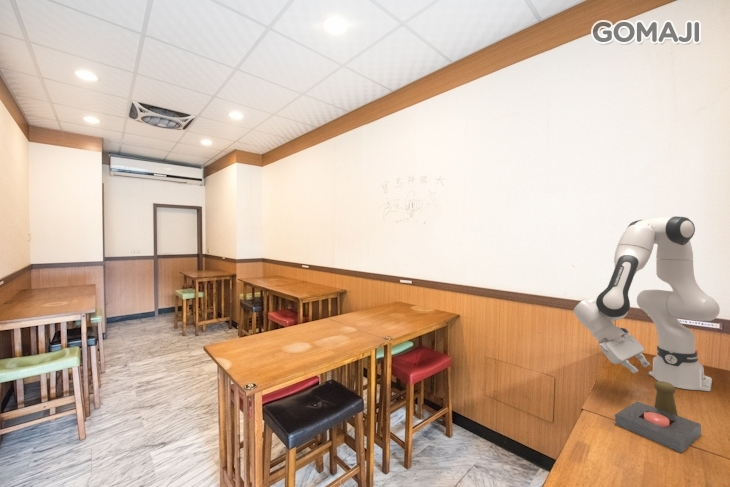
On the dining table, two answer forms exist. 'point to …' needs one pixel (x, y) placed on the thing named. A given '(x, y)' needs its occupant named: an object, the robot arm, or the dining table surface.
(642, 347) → the robot arm
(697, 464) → the dining table surface
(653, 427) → the switch box
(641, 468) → the dining table surface
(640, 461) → the dining table surface
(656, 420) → the button
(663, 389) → the olive pepper mill
